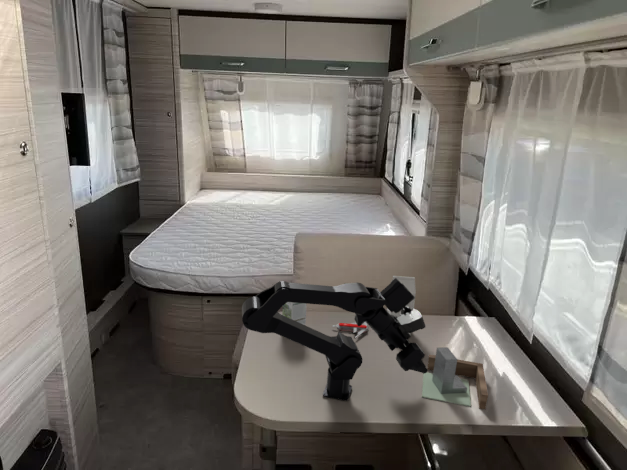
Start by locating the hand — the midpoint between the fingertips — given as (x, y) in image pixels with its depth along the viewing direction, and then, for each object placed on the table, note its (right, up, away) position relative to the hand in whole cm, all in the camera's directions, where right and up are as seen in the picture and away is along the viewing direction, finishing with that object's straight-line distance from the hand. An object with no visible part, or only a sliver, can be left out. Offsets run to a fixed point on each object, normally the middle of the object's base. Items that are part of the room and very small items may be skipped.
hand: (419, 362), depth 124 cm
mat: (+8, -8, +3) cm, 11 cm away
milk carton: (0, +1, +34) cm, 34 cm away
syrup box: (-34, +2, +29) cm, 45 cm away
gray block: (+8, -7, +4) cm, 12 cm away
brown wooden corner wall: (+10, -8, +4) cm, 13 cm away
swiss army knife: (-16, +2, +32) cm, 36 cm away
